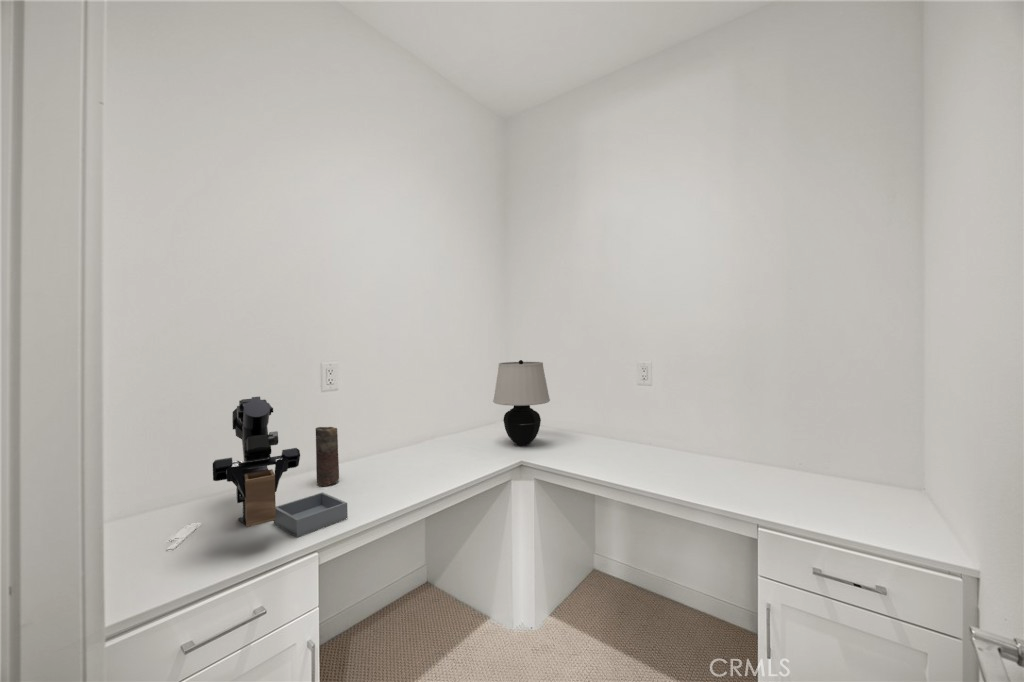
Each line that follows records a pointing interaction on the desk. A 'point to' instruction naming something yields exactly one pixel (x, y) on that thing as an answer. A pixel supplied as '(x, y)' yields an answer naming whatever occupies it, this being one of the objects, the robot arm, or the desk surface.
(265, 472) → the walnut crate
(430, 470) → the desk surface
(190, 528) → the white angle bracket
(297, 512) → the tray
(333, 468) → the candle
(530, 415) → the table lamp
